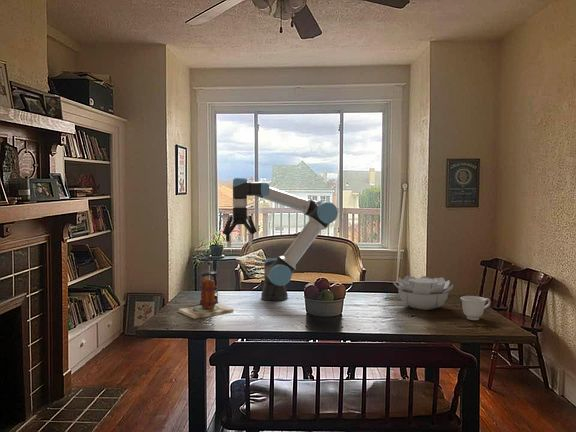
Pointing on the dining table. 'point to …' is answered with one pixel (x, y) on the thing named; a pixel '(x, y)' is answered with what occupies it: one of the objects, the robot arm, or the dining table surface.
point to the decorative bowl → (423, 291)
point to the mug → (208, 294)
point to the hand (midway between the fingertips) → (239, 246)
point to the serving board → (205, 311)
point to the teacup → (474, 306)
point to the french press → (209, 279)
